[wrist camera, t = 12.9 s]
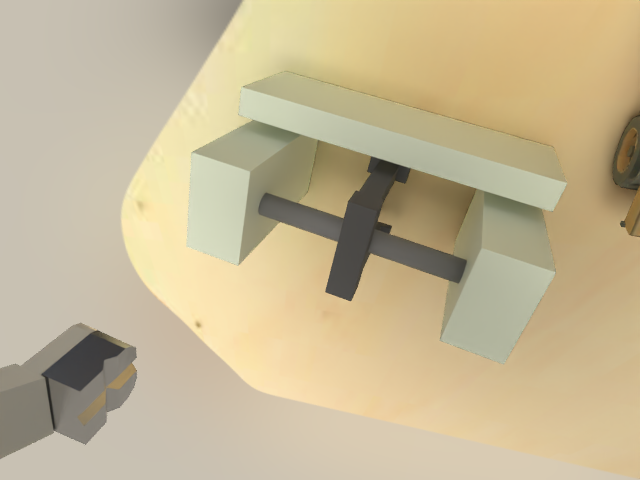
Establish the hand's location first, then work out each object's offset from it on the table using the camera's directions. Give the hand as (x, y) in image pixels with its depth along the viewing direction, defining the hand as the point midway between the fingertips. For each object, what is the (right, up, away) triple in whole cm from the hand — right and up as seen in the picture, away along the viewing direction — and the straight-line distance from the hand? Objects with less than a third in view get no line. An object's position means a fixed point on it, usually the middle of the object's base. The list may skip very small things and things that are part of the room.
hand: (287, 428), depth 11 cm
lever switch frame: (+7, +11, +29) cm, 31 cm away
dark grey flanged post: (+6, +8, +26) cm, 28 cm away
